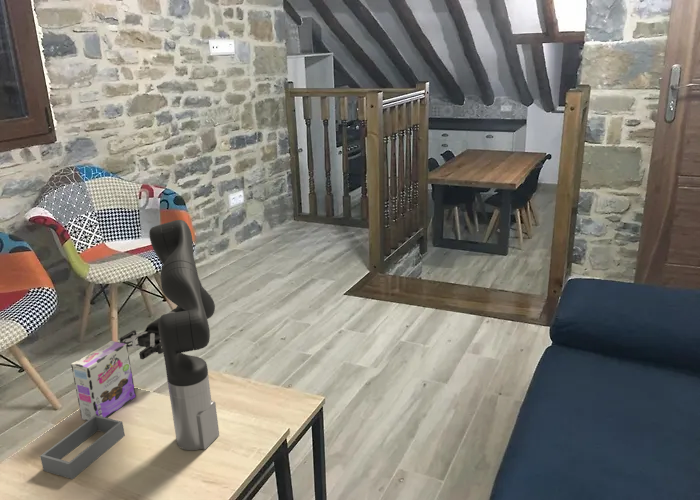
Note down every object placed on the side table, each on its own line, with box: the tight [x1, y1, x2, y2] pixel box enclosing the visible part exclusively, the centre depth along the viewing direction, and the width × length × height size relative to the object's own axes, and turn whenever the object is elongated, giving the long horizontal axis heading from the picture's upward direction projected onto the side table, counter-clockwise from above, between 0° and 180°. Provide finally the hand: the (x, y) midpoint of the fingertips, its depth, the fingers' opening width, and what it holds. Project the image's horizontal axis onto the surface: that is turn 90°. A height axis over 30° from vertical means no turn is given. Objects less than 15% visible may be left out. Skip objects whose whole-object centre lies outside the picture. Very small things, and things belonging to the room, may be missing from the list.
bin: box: [39, 415, 125, 480], centre depth 140 cm, size 9×17×4 cm, turn 158°
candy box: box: [70, 340, 137, 422], centre depth 155 cm, size 14×6×16 cm, turn 156°
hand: (128, 353), depth 163 cm, fingers open, 8 cm apart
